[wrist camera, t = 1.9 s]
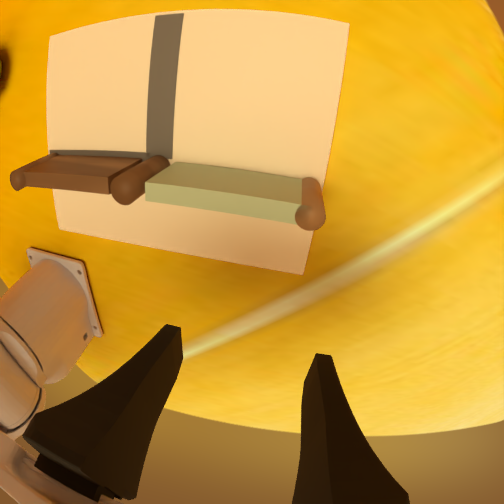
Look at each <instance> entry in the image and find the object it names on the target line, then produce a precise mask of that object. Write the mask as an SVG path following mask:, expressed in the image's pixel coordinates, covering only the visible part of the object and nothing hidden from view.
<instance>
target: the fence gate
mask: <svg viewBox="0 0 504 504" xmlns="http://www.w3.org/2000/svg"><path fill="white" fill-rule="evenodd" d="M145 201H149V202H156V203H164V204H171V205H178V206H185V207H191V208H198V209H205V210H211V211H218V212H224V213H231V214H237V215H243V216H249V217H255V218H261V219H267V220H273V221H279V222H284V223H290V224H296V225H298V226H299V227H300V228H302V229H304V230H307V231H314V230H317V229H319V228H320V227H321V226H322V225H323V224H324V222H325V219H326V215H325V208H324V202H323V196H322V191H321V186H320V183H319V182H318V181H317V180H316V179H314V178H311V177H307V178H303V179H298V178H292V177H286V176H280V175H274V174H268V173H261V172H255V171H248V170H241V169H233V168H226V167H218V166H210V165H201V164H192V163H182V162H175V163H173V164H171V165H170V166H168V167H167V168H165V169H164V170H162V171H161V172H159V173H158V174H156V175H155V176H153V177H152V178H150V179H149V180H147V181H146V182H145Z"/></svg>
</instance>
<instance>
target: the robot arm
mask: <svg viewBox="0 0 504 504" xmlns="http://www.w3.org/2000/svg"><path fill="white" fill-rule="evenodd" d="M27 255H28V258H29V262H30V265H31V269H30V270H29V271H28V272H27V273H26V274H25V275H23V276H22V277H21V278H20V279H19V280H18V281H17V282H16V283H15V284H14V285H13V286H12V287H11V288H10V289H9V290H8V291H7V292H6V293H5V294H4V295H3V296H2V297H1V298H0V487H1V488H2V489H3V490H4V491H5V492H6V493H7V494H9V495H10V496H11V497H12V498H13V499H14V500H16V501H17V502H18V503H19V504H122V503H120V502H117V501H115V500H113V499H114V497H115V498H118V499H120V500H121V499H122V498H125V499H127V500H131V499H134V498H136V496H137V490H138V486H139V481H140V477H141V473H142V469H143V465H144V461H145V457H146V454H147V451H148V447H149V444H150V441H151V437H152V434H153V431H154V428H155V425H156V423H157V420H158V418H159V416H160V414H161V411H162V409H163V407H164V405H165V403H166V401H167V399H168V396H169V394H170V392H171V390H172V388H173V385H174V383H175V381H176V379H177V376H178V373H179V370H180V367H181V363H182V360H183V351H182V338H181V327H176V326H172V325H168V324H166V325H165V326H164V327H163V328H162V329H161V330H160V331H159V332H158V333H157V334H156V335H155V336H154V337H153V338H152V339H151V340H150V341H149V342H148V343H147V344H146V345H145V346H144V347H143V348H142V349H141V350H140V351H139V352H137V353H136V354H135V355H134V356H133V357H132V358H131V359H130V360H129V361H127V362H126V363H125V364H124V365H123V366H121V367H120V368H119V369H118V370H116V371H115V372H114V373H113V374H111V375H110V376H108V377H107V378H106V379H104V380H103V381H101V382H100V383H98V384H97V385H95V386H94V387H92V388H90V389H89V390H87V391H85V392H84V393H82V394H80V395H78V396H76V397H74V398H72V399H70V400H68V401H66V402H64V403H62V404H59V405H57V406H55V407H52V408H49V409H46V410H44V407H45V401H46V392H45V389H44V387H43V385H44V384H52V383H55V382H58V381H60V380H62V379H63V378H64V377H65V376H67V374H68V373H69V372H70V371H71V369H72V368H73V366H74V365H75V363H76V362H77V360H78V359H79V357H80V356H81V354H82V353H83V351H84V350H85V348H86V347H87V345H88V344H89V342H90V341H91V339H92V338H93V337H94V336H96V337H102V335H103V333H102V329H101V326H100V323H99V320H98V316H97V313H96V309H95V306H94V302H93V298H92V295H91V291H90V287H89V283H88V279H87V275H86V270H85V266H84V264H83V263H82V262H81V261H79V260H75V259H71V258H67V257H63V256H60V255H56V254H52V253H49V252H45V251H41V250H38V249H34V248H31V247H29V248H28V249H27ZM22 434H23V435H22ZM20 435H22V436H23V438H24V439H25V440H26V441H27V442H28V443H29V444H30V445H31V446H32V447H33V448H34V449H36V450H37V451H38V452H39V453H40V455H39V456H38V458H36V457H34V456H32V455H31V454H30V453H28V452H27V451H26V450H25V449H24V448H23V447H21V446H20V445H19V444H18V443H16V442H15V441H14V440H15V439H16V438H18V437H19V436H20ZM292 504H410V501H409V496H408V493H407V492H406V491H405V490H404V489H403V488H402V487H401V486H400V485H399V484H398V482H397V481H396V480H395V479H394V478H393V477H392V475H391V474H390V473H389V472H388V471H387V469H386V468H385V467H384V465H383V464H382V463H381V461H380V460H379V458H378V457H377V456H376V454H375V453H374V451H373V450H372V448H371V447H370V445H369V443H368V442H367V440H366V438H365V436H364V435H363V433H362V431H361V429H360V427H359V425H358V423H357V421H356V419H355V417H354V415H353V413H352V411H351V409H350V406H349V404H348V402H347V399H346V397H345V394H344V392H343V389H342V386H341V384H340V381H339V378H338V375H337V372H336V369H335V366H334V362H333V359H332V357H331V355H325V354H318V353H316V354H315V357H314V359H313V362H312V364H311V367H310V369H309V371H308V374H307V376H306V378H305V381H304V387H303V395H302V405H301V451H300V461H299V467H298V474H297V480H296V485H295V491H294V496H293V501H292Z"/></svg>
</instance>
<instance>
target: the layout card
mask: <svg viewBox="0 0 504 504" xmlns="http://www.w3.org/2000/svg"><path fill="white" fill-rule="evenodd" d="M348 33H349V23H345V22H340V21H335V20H330V19H325V18H319V17H313V16H307V15H300V14H292V13H284V12H274V11H261V10H242V9H202V10H183V11H170V12H160V13H152V14H144V15H138V16H131V17H125V18H120V19H115V20H110V21H105V22H101V23H96V24H92V25H88V26H84V27H80V28H77V29H73V30H70V31H66V32H63V33H60V34H57V35H53V36H50V43H49V53H48V67H47V137H48V151H49V154H52V153H57V154H59V155H83V156H110V157H128V158H142V162H143V161H145V160H147V159H149V158H151V157H153V156H155V155H161V156H163V157H165V158H166V159H168V161H169V162H170V165H171V164H173V163H175V162H182V163H192V164H201V165H210V166H218V167H226V168H233V169H241V170H248V171H255V172H261V173H268V174H274V175H280V176H286V177H292V178H298V179H303V178H307V177H311V178H314V179H316V180H317V181H318V182H319V183H320V186H321V191H322V190H323V185H324V180H325V175H326V170H327V165H328V160H329V154H330V149H331V144H332V138H333V133H334V127H335V121H336V115H337V109H338V103H339V97H340V91H341V84H342V77H343V70H344V63H345V56H346V49H347V41H348ZM53 195H54V202H55V208H56V214H57V220H58V225H59V229H61V230H65V231H70V232H75V233H80V234H85V235H90V236H95V237H100V238H105V239H110V240H115V241H121V242H126V243H131V244H136V245H141V246H146V247H152V248H157V249H162V250H167V251H173V252H178V253H183V254H188V255H194V256H199V257H205V258H210V259H215V260H221V261H226V262H232V263H237V264H243V265H248V266H254V267H260V268H265V269H271V270H276V271H282V272H288V273H294V274H299V275H303V273H304V269H305V265H306V261H307V257H308V253H309V248H310V244H311V240H312V236H313V231H307V230H304V229H302V228H300V227H299V226H298V225H296V224H290V223H284V222H279V221H273V220H267V219H261V218H255V217H249V216H243V215H237V214H231V213H224V212H218V211H211V210H205V209H198V208H191V207H185V206H178V205H171V204H164V203H156V202H149V201H145V193H144V194H143V195H142V196H140V197H139V198H138V199H137V200H135V201H134V202H133V203H131V204H130V205H121V204H119V203H118V202H116V201H115V200H114V198H113V197H112V194H109V195H107V194H98V193H89V192H80V191H71V190H61V189H53Z"/></svg>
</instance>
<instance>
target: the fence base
mask: <svg viewBox="0 0 504 504" xmlns="http://www.w3.org/2000/svg"><path fill="white" fill-rule="evenodd" d="M168 166H170V162H169V161H168V159H166V158H165V157H163V156H161V155H155V156H153V157H151V158H149V159H147V160H145V161H143V162H142V158H128V157H110V156H83V155H59V154H57V153H52V154H49V155H47V156H45V157H42V158H40V159H38V160H36V161H33V162H31V163H29V164H27V165H25V166H23V167H21V168H18V169H16V170H14V171H12V172H11V174H10V182H11V185H12V187H13V188H14V189H15V190H16V191H19V190H20V189H22V188H24V187H26V186H30V187H41V188H51V189H61V190H71V191H80V192H89V193H98V194H107V195H109V194H112V197H113V198H114V200H115V201H116V202H118V203H119V204H121V205H130V204H131V203H133V202H134V201H135V200H137V199H138V198H139V197H140V196H142V195H143V194H144V193H145V182H146V181H147V180H149V179H150V178H152V177H153V176H155V175H156V174H158V173H159V172H161V171H162V170H164V169H165V168H167V167H168Z"/></svg>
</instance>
